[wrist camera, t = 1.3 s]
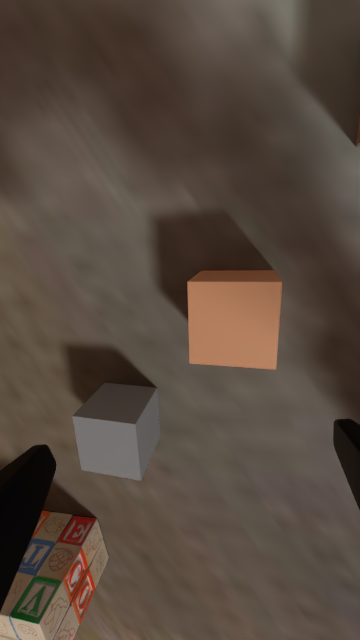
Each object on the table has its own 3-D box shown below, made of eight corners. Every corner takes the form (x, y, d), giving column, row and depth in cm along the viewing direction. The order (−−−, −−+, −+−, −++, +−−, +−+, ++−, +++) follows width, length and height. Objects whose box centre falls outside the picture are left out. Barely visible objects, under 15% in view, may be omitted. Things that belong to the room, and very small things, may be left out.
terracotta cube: (273, 269, 19) (282, 281, 14) (269, 338, 20) (275, 369, 16) (201, 270, 20) (187, 281, 15) (202, 335, 21) (189, 363, 17)
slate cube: (157, 387, 24) (135, 424, 19) (160, 435, 25) (140, 480, 21) (105, 382, 25) (72, 415, 20) (110, 428, 26) (81, 469, 22)
